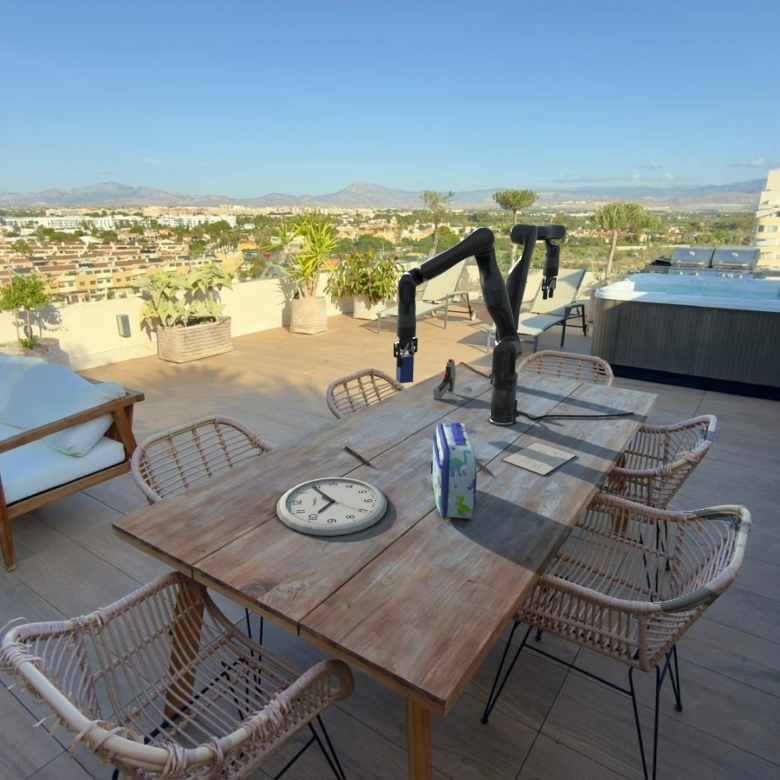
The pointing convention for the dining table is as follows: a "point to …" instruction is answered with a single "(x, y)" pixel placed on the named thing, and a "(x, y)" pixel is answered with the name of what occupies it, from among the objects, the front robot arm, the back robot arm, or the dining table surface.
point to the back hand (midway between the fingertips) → (547, 298)
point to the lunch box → (454, 471)
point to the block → (405, 369)
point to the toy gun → (446, 381)
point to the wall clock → (331, 506)
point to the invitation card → (539, 458)
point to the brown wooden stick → (357, 455)
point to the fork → (481, 466)
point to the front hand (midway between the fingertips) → (405, 365)
